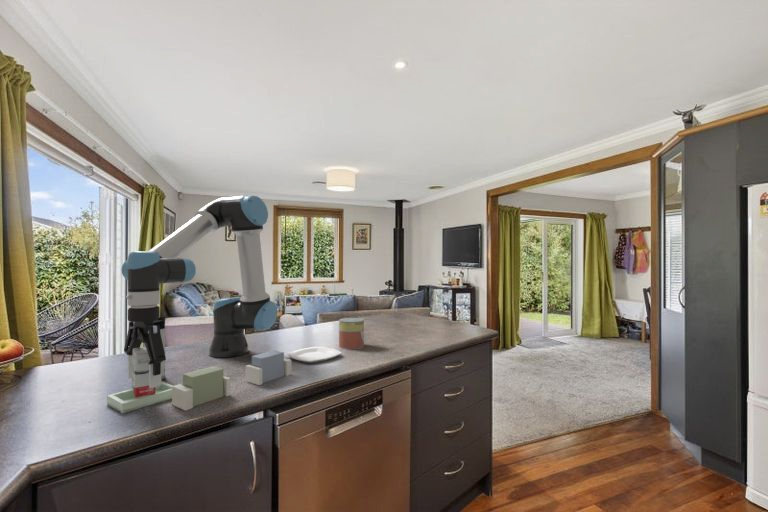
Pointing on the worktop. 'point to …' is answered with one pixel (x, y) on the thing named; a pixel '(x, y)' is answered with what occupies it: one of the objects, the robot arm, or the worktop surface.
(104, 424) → the worktop surface
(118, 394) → the tray
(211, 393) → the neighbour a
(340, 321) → the canned food
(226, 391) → the holder
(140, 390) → the ink box
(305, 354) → the plate
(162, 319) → the travel mug
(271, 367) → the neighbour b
